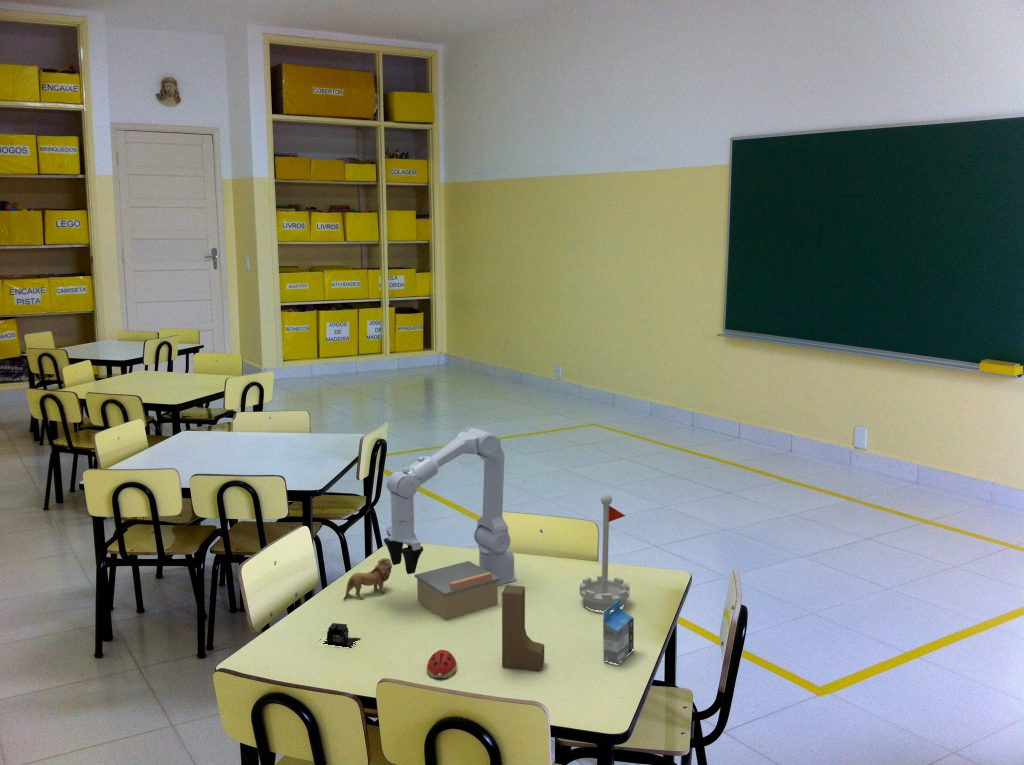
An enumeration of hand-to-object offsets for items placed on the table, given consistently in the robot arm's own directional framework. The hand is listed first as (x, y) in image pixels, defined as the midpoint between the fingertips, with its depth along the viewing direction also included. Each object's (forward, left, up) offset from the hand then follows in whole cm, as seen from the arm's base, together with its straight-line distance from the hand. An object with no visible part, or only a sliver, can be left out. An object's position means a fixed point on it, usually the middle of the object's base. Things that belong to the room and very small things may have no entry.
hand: (403, 568), depth 231 cm
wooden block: (-6, +44, -10) cm, 46 cm away
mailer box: (-12, +7, -10) cm, 17 cm away
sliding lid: (-12, +7, -3) cm, 14 cm away
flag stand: (-43, +30, -10) cm, 53 cm away
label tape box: (-26, +54, -10) cm, 61 cm away
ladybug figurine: (+10, +35, -11) cm, 38 cm away
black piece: (+23, +9, -11) cm, 27 cm away
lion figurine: (+4, -12, -10) cm, 16 cm away
